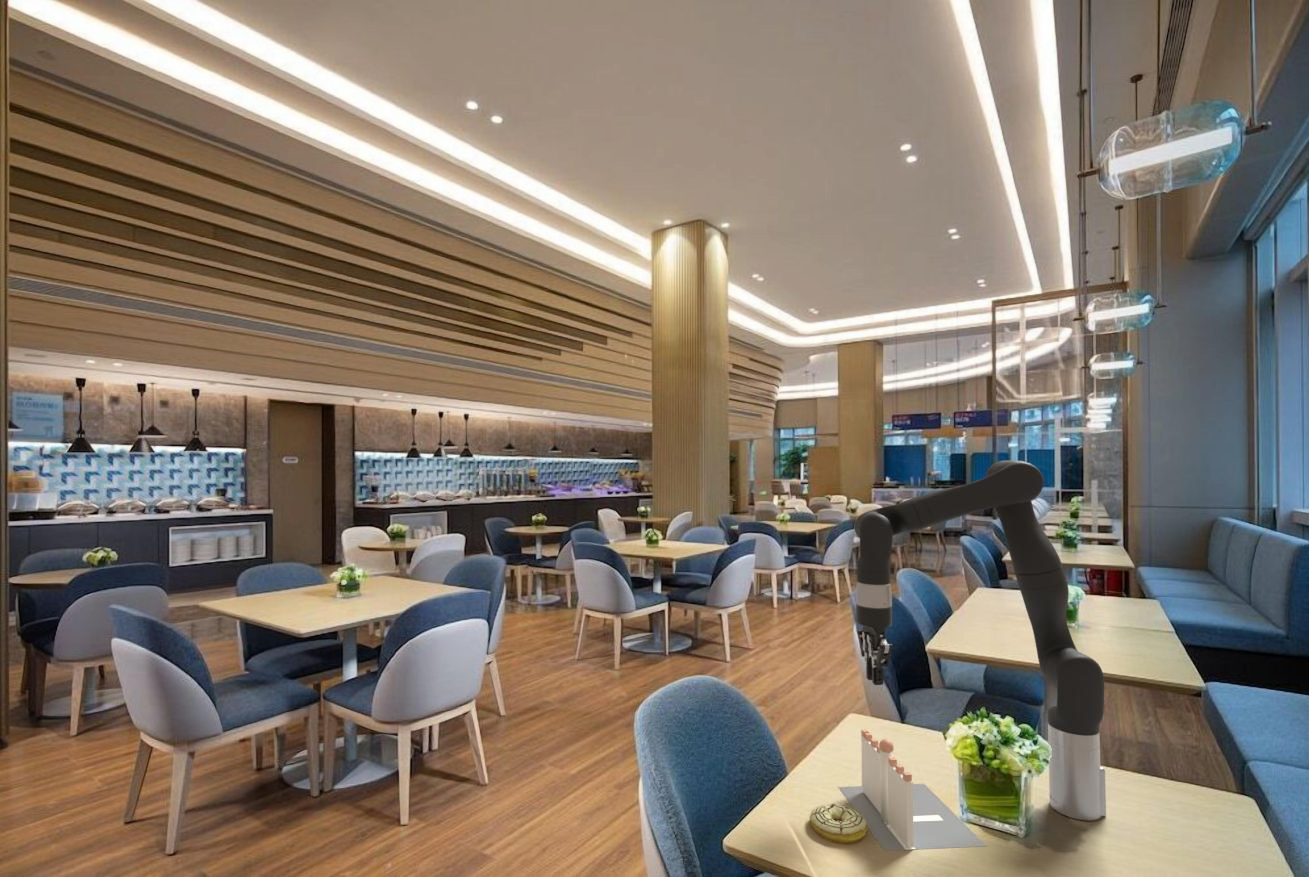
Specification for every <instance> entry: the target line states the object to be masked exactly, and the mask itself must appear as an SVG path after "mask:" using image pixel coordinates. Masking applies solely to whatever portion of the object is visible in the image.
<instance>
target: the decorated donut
mask: <svg viewBox="0 0 1309 877" xmlns="http://www.w3.org/2000/svg"><path fill="white" fill-rule="evenodd" d="M809 821H810V825H811V827H812V828H813V830H814V831H815V832H816V834H817V835H819V836H820V837H821V838H823V839H825V840H827V841H829V842H830V841H831V842H834V843H838V844H839V843H840V844H853V843H856V842H858V841H860V840H862V839H863V838H864V837H865V835H866V833H867V828H868V827H867V826H866V820H865V818H864V817H863V816H862V814H861V813H860V812H858V811H856V810H854V808H853V807H852V808H851V807H849V806H845V805H841V804H835V803H832V804H823V805H819V806H817V807H814V808H813V809H812V810H811V812H810V814H809Z"/></svg>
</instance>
